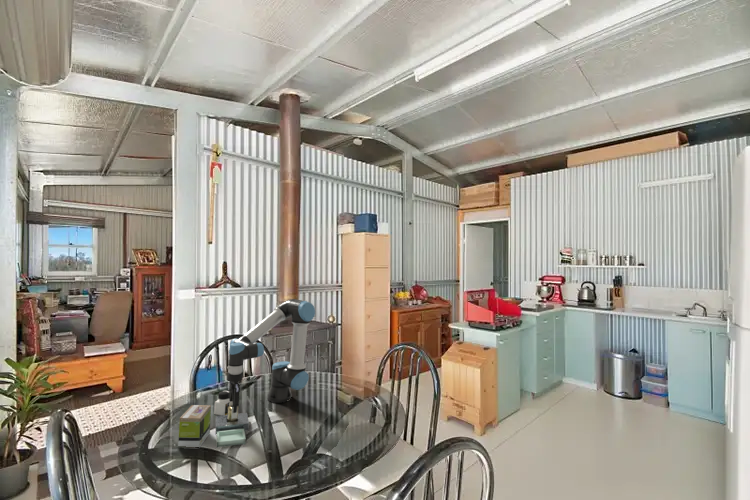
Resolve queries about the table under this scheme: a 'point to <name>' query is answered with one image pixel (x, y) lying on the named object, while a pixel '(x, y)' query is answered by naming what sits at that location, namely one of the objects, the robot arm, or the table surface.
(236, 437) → the parts tray
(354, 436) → the table surface
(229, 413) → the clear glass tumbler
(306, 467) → the table surface
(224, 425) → the grey rectangular slab
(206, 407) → the tea box
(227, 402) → the medicine bottle
